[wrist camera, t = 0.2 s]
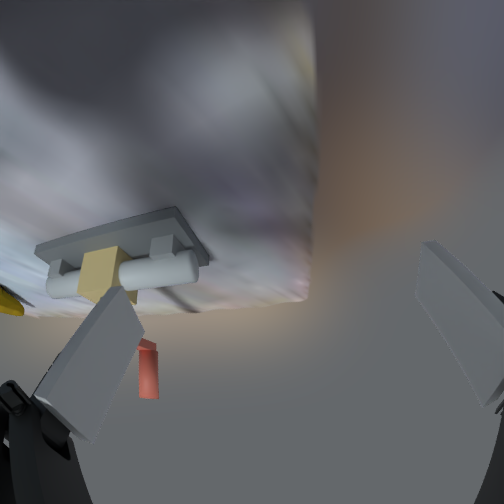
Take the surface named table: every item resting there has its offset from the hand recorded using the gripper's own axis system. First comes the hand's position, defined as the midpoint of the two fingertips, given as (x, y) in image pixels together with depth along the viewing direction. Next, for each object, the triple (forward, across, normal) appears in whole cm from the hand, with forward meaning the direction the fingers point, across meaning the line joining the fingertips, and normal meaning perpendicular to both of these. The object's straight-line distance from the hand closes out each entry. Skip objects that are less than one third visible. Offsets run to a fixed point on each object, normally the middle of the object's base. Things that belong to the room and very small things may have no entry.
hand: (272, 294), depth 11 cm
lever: (+17, -23, -16) cm, 33 cm away
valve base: (+22, -23, -5) cm, 33 cm away
